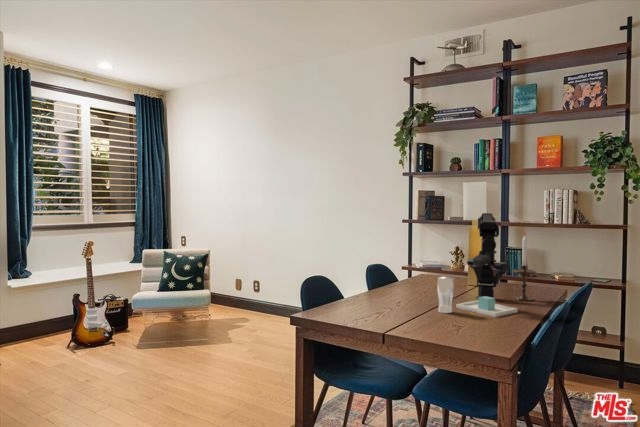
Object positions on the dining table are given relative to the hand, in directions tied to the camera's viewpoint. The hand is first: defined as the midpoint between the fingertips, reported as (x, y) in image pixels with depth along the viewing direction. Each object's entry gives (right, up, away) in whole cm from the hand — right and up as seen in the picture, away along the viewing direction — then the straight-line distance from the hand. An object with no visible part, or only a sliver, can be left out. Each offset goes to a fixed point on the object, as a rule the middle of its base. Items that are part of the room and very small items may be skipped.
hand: (487, 282), depth 205 cm
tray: (-2, -12, -5) cm, 13 cm away
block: (-2, -11, -5) cm, 12 cm away
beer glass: (-22, -12, -8) cm, 26 cm away
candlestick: (+25, -12, +19) cm, 33 cm away
